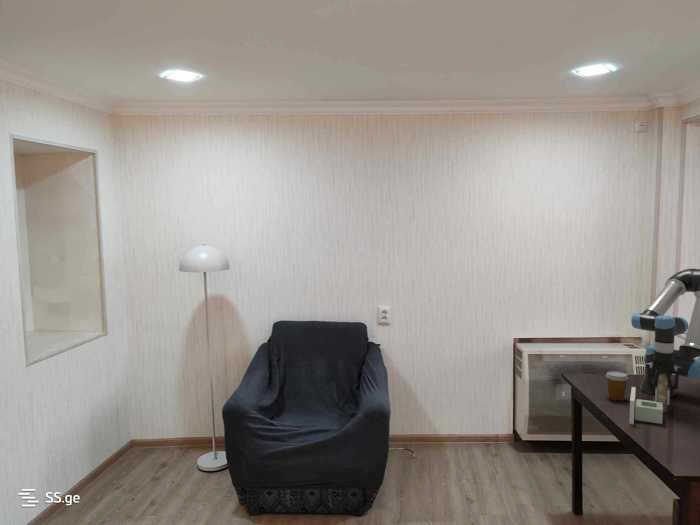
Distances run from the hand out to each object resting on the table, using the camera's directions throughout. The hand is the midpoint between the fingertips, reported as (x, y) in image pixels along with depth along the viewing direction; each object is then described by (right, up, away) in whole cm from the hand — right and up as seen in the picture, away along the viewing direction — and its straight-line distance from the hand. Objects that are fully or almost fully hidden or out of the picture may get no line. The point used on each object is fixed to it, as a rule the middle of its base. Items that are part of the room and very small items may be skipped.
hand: (661, 402), depth 233 cm
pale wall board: (-16, -4, -5) cm, 17 cm away
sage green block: (-11, -5, -8) cm, 14 cm away
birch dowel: (0, -4, 0) cm, 4 cm away
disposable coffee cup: (-12, -3, +17) cm, 20 cm away
